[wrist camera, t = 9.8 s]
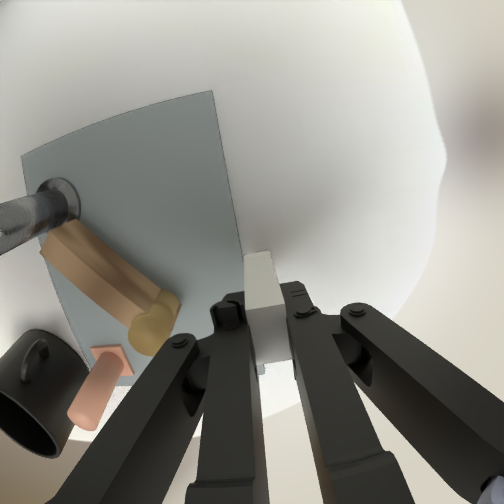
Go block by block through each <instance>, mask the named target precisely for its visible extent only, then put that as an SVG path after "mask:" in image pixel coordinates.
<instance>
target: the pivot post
mask: <svg viewBox="0 0 504 504" xmlns="http://www.w3.org/2000/svg"><path fill="white" fill-rule="evenodd" d="M80 214H81V202H80V197H79V194H78V192H77V190H76V188H75V187H74V185H73V184H72V183H71V182H69V181H68V180H66V179H64V178H60V177H57V178H51V179H48V180H46V181H44V182H43V183H42V184H41V185H40V186H39V188H38V189H37V191H36V193H35V194H32V195H28V196H25V197H21V198H18V199H14V200H11V201H8V202H4V203H1V204H0V256H1V255H2V254H4V253H6V252H8V251H10V250H12V249H14V248H15V247H17V246H19V245H21V244H23V243H25V242H27V241H29V240H31V239H33V238H35V237H37V236H39V235H41V234H43V233H45V232H46V233H47V234H48V233H49V231H51V230H53V229H55V228H57V227H59V226H61V225H63V224H65V223H67V222H70V221H72V220H74V219H77V220H78V221H79V218H80Z"/></svg>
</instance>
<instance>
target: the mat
mask: <svg viewBox="0 0 504 504" xmlns="http://www.w3.org/2000/svg"><path fill="white" fill-rule="evenodd" d="M21 160H22V166H23V173H24V178H25V184H26V189H27V194H28V195H32V194H35V193H36V191H37V189H38V188H39V186H40V185H41V184H42V183H43V182H44V181H46V180H48V179H51V178H57V177H60V178H64V179H66V180H68V181H69V182H71V183H72V184H73V185H74V187H75V188H76V190H77V192H78V194H79V197H80V202H81V214H80V218H79V221H80V222H81V223H82V224H83V225H84V226H85V227H86V228H87V229H89V230H90V231H91V232H92V233H93V234H94V235H96V236H97V237H98V238H99V239H100V240H101V241H102V242H104V243H105V244H106V245H107V246H108V247H110V248H111V249H112V250H113V251H114V252H116V253H117V254H118V255H119V256H120V257H122V258H123V259H124V260H125V261H126V262H128V263H129V264H130V265H131V266H133V267H134V268H135V269H136V270H138V271H139V272H140V273H141V274H143V275H144V276H145V277H146V278H148V279H149V280H150V281H152V282H153V283H154V284H155V285H157V286H158V287H159V288H161V289H165V290H168V291H171V292H172V293H173V294H175V295H176V297H177V298H178V300H179V303H181V304H182V306H181V308H180V311H179V314H178V317H177V319H176V322H175V325H174V328H173V331H172V332H171V335H170V337H172V336H173V335H176V334H179V333H190V334H193V335H194V336H195V337H196V340H199V339H202V338H205V337H207V336H210V335H211V334H213V333H214V325H213V322H212V318H211V314H210V311H209V310H210V308H211V306H213V305H214V304H215V303H217V302H220V301H222V299H223V298H224V296H225V295H226V294H228V293H234V292H240V291H245V287H244V263H243V258H242V253H241V247H240V242H239V237H238V231H237V226H236V221H235V215H234V210H233V204H232V199H231V194H230V188H229V183H228V177H227V172H226V166H225V161H224V155H223V150H222V144H221V138H220V133H219V127H218V122H217V116H216V110H215V105H214V99H213V93H212V90H211V91H206V92H202V93H197V94H192V95H188V96H184V97H180V98H176V99H172V100H168V101H164V102H160V103H156V104H153V105H149V106H146V107H143V108H139V109H136V110H133V111H130V112H126V113H123V114H120V115H117V116H114V117H111V118H109V119H106V120H103V121H100V122H97V123H95V124H92V125H90V126H87V127H84V128H82V129H79V130H77V131H74V132H72V133H70V134H67V135H65V136H63V137H60V138H58V139H56V140H54V141H51V142H49V143H47V144H45V145H43V146H41V147H39V148H37V149H34V150H32V151H30V152H28V153H26V154H25V155H23V156H21ZM47 235H48V234H47V233H46V232H45V233H43V234H41V235H39V236H38V239H39V242H40V246H41V248H42V246H43V244H44V242H45V239H46V237H47ZM44 259H45V258H44ZM45 262H46V265H47V268H48V271H49V273H50V276H51V279H52V282H53V285H54V287H55V290H56V293H57V295H58V298H59V300H60V303H61V305H62V308H63V310H64V313H65V315H66V317H67V320H68V322H69V324H70V326H71V329H72V331H73V333H74V335H75V337H76V339H77V342H78V344H79V346H80V348H81V350H82V352H83V354H84V356H85V358H86V360H87V362H88V363H89V365H90V367H91V369H92V368H93V366H94V364H95V363H96V360H95V358H94V356H93V354H92V352H91V350H90V348H91V346H101V345H117V344H122V347H123V349H124V351H125V353H126V356H127V358H128V360H129V362H130V364H131V366H132V368H133V370H134V372H135V373H134V376H120V377H119V379H118V381H117V384H116V386H133V385H134V383H135V382H136V380H137V379H138V378H139V376H140V375H141V374H142V372H143V371H144V370H145V368H146V367H147V365H148V364H149V363H150V361H151V360H152V359H153V357H154V356H153V357H151V356H145V355H142V354H140V353H138V352H137V351H136V350H134V349H133V347H132V346H131V345H130V343H129V341H128V331H129V329H128V328H127V327H126V326H124V325H123V324H122V323H120V322H119V321H118V320H116V319H115V318H114V317H113V316H111V315H110V314H109V313H107V312H106V311H105V310H104V309H102V308H101V307H100V306H99V305H97V304H96V303H95V302H94V301H93V300H91V299H90V298H89V297H88V296H87V295H85V294H84V293H83V292H82V291H81V290H79V289H78V288H77V287H76V286H75V285H74V284H73V283H71V282H70V281H69V280H68V279H67V278H66V277H65V276H63V275H62V274H61V273H60V272H59V271H58V270H57V269H56V268H55V267H54V266H53V265H52V264H50V263H49V262H48V261H47V260H46V259H45ZM256 365H257V364H256ZM257 370H258V375H261V374H265V371H264V366H263V364H261V365H257Z"/></svg>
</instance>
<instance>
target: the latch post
mask: <svg viewBox="0 0 504 504" xmlns="http://www.w3.org/2000/svg"><path fill="white" fill-rule="evenodd" d="M90 350H91V352H92V354H93V356H94V358H95V360H96V363H95V364H94V366H93V368H92V369H91V371H90V373H89V374H88V376H87V378H86V379H85V381H84V383H83V385H82V386H81V388H80V390H79V392H78V393H77V395H76V397H75V399H74V400H73V402H72V404H71V406H70V408H69V410H68V411H67V415H68V417H69V419H70V420H71V421H72V422H73V423H74V424H75V425H77V426H78V427H80V428H82V429H84V430H87V431H94V430H96V428H97V426H98V424H99V421H100V419H101V417H102V414H103V412H104V410H105V408H106V405H107V403H108V401H109V399H110V397H111V394H112V392H113V390H114V388H115V386H116V384H117V381H118V379H119V377H120V376H134V373H135V372H134V370H133V368H132V366H131V364H130V362H129V360H128V358H127V356H126V353H125V351H124V349H123V347H122V344H117V345H101V346H91V348H90Z"/></svg>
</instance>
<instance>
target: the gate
mask: <svg viewBox="0 0 504 504" xmlns="http://www.w3.org/2000/svg"><path fill="white" fill-rule="evenodd" d="M40 254H41V255H42V256H43V257H44V258H45V259H46V260H47V261H48V262H49V263H50V264H52V265H53V266H54V267H55V268H56V269H57V270H58V271H59V272H60V273H61V274H62V275H63V276H65V277H66V278H67V279H68V280H69V281H70V282H71V283H73V284H74V285H75V286H76V287H77V288H78V289H79V290H81V291H82V292H83V293H84V294H85V295H87V296H88V297H89V298H90V299H91V300H93V301H94V302H95V303H96V304H97V305H99V306H100V307H101V308H102V309H104V310H105V311H106V312H107V313H109V314H110V315H111V316H113V317H114V318H115V319H116V320H118V321H119V322H120V323H122V324H123V325H124V326H126V327H127V328H128V329H129V331H128V341H129V343H130V345H131V346H132V347H133V349H134V350H136V351H137V352H138V353H140V354H142V355H145V356H151V357H153V356H155V354H156V353H157V352H158V350H159V349H160V348H161V346H162V345H163V344H164V342H165V341H166V340H167V339H168V338H170V335H171V332H172V331H173V328H174V325H175V322H176V319H177V317H178V314H179V311H180V308H181V306H182V304H181V303H179V300H178V298H177V297H176V295H175V294H173V293H172V292H171V291H168V290H165V289H161V288H159V287H158V286H157V285H155V284H154V283H153V282H152V281H150V280H149V279H148V278H146V277H145V276H144V275H143V274H141V273H140V272H139V271H138V270H136V269H135V268H134V267H133V266H131V265H130V264H129V263H128V262H126V261H125V260H124V259H123V258H122V257H120V256H119V255H118V254H117V253H116V252H114V251H113V250H112V249H111V248H110V247H108V246H107V245H106V244H105V243H104V242H102V241H101V240H100V239H99V238H98V237H97V236H96V235H94V234H93V233H92V232H91V231H90V230H89V229H87V228H86V227H85V226H84V225H83V224H82V223H81V222H80V221H78V220H77V219H74V220H72V221H70V222H67V223H65V224H63V225H61V226H59V227H57V228H55V229H53V230H51V231H49V233H48V235H47V237H46V239H45V242H44V244H43V246H42V248H41V251H40Z"/></svg>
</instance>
